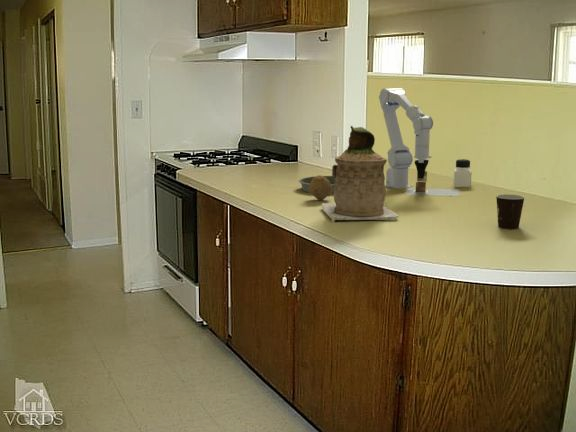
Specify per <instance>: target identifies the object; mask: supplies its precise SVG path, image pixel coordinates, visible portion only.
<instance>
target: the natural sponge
mask: <svg viewBox="0 0 576 432" xmlns="http://www.w3.org/2000/svg"><path fill="white" fill-rule="evenodd" d="M324 176H325V175H320V174H319V175H316V177H314V178H313V179H312V181H311V183H310V186H309V190H310V192H311V193H310V192H309V193H310V194H312V196H313V197H314V198H315V199H317V200H318V201H323V200H325V199H326V198H327V197H329V196H330V195H332V194H331V193H332V187H331V184H330V182H329V180H328V179H327V178H326V177H324Z"/></svg>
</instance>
